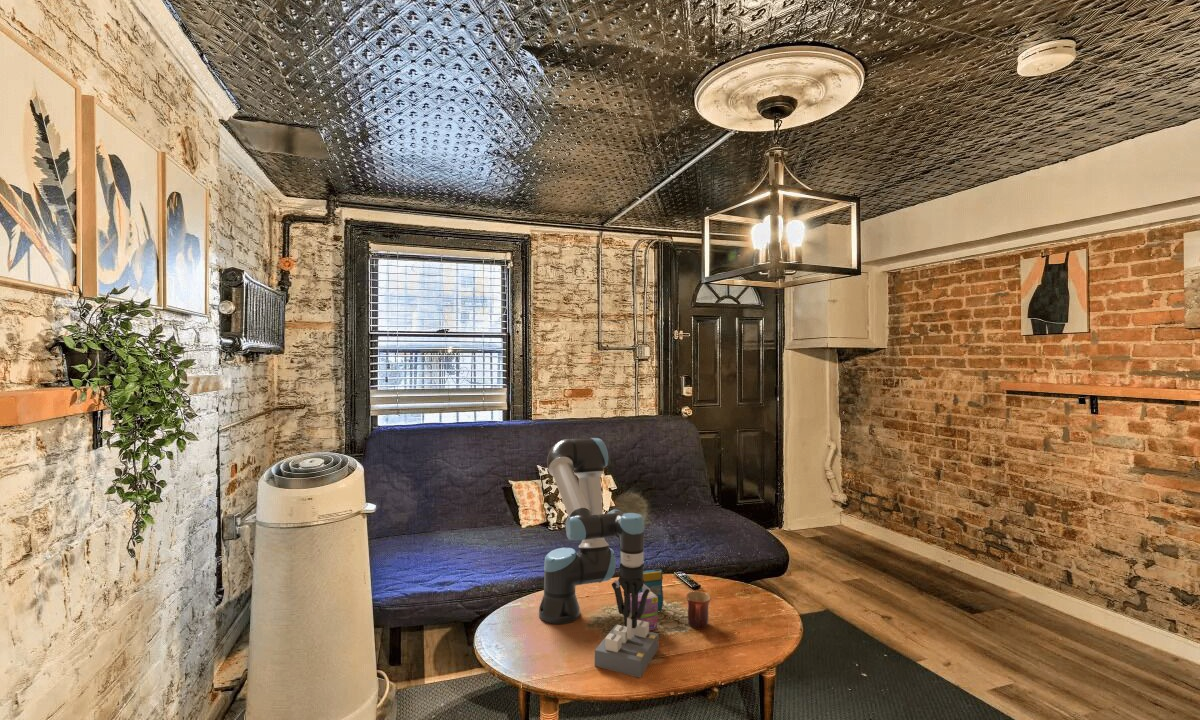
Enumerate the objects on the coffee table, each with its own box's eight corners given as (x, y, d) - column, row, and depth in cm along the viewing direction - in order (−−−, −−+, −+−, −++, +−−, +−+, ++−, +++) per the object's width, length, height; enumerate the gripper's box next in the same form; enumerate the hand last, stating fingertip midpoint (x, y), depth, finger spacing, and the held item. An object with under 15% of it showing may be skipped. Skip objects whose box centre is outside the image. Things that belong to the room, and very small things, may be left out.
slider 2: (613, 640, 176) (613, 628, 176) (617, 635, 180) (617, 623, 179) (625, 643, 175) (625, 631, 175) (629, 638, 178) (629, 626, 178)
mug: (686, 617, 203) (686, 590, 203) (710, 620, 202) (710, 592, 201) (684, 633, 192) (685, 604, 191) (710, 636, 190) (710, 607, 190)
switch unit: (594, 665, 171) (594, 649, 171) (616, 638, 188) (616, 623, 187) (640, 677, 165) (640, 660, 165) (658, 648, 182) (658, 633, 181)
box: (632, 636, 190) (633, 602, 189) (624, 628, 195) (624, 595, 194) (657, 629, 194) (658, 596, 194) (649, 622, 199) (649, 589, 199)
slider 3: (633, 635, 180) (633, 623, 180) (637, 630, 183) (637, 618, 183) (645, 637, 178) (645, 626, 178) (648, 632, 182) (648, 621, 182)
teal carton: (660, 607, 211) (660, 568, 211) (664, 612, 207) (665, 572, 207) (636, 610, 208) (637, 571, 208) (640, 615, 204) (641, 575, 204)
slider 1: (605, 649, 171) (605, 637, 171) (609, 644, 174) (609, 632, 174) (617, 652, 169) (617, 640, 169) (621, 646, 173) (621, 634, 172)
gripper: (608, 564, 175) (607, 637, 175) (647, 571, 169) (645, 647, 170) (617, 556, 182) (615, 627, 182) (654, 562, 176) (653, 635, 177)
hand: (630, 636), depth 176 cm, fingers closed
